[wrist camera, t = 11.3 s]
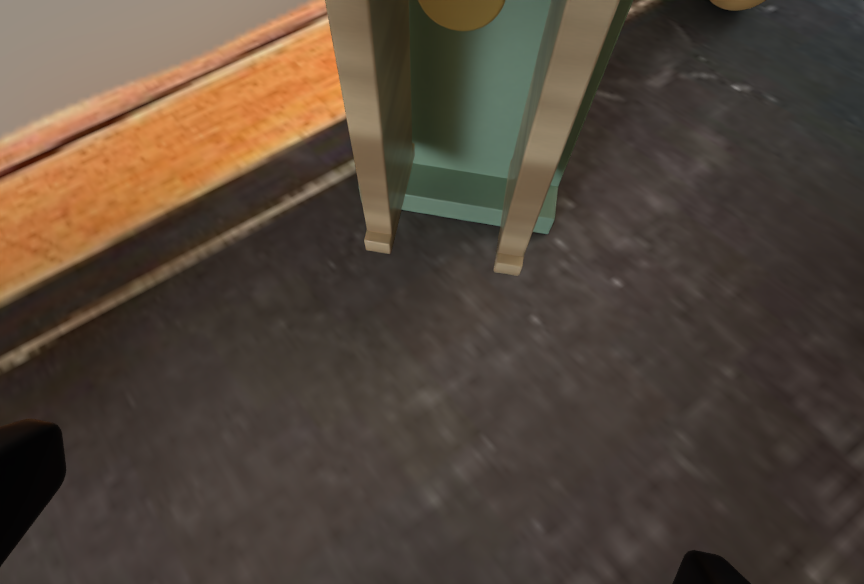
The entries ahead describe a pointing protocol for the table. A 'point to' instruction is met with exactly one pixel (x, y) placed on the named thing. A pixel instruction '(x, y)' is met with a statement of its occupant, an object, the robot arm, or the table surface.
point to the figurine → (736, 4)
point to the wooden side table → (392, 121)
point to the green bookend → (479, 102)
